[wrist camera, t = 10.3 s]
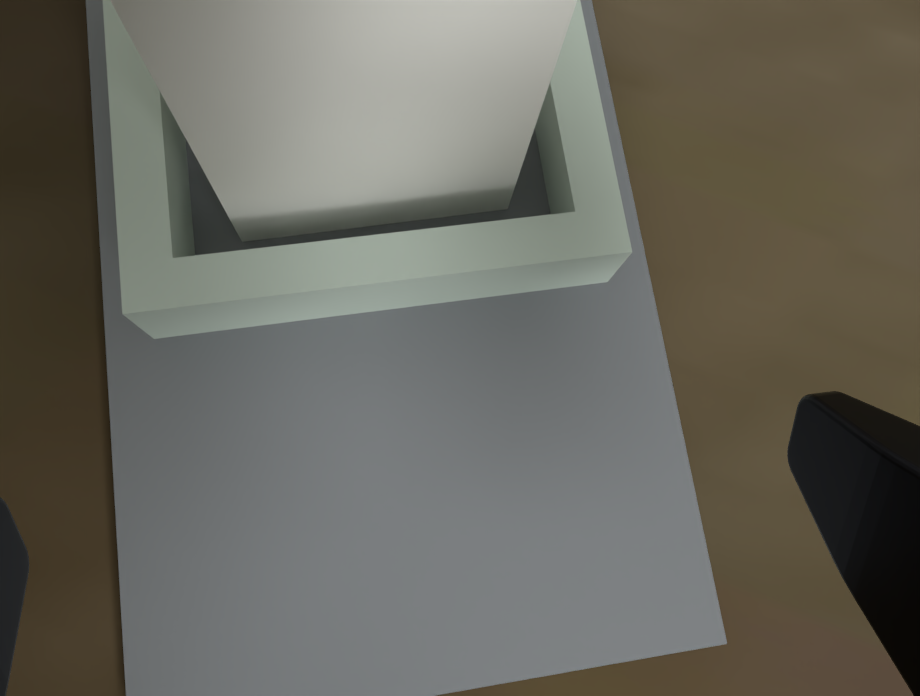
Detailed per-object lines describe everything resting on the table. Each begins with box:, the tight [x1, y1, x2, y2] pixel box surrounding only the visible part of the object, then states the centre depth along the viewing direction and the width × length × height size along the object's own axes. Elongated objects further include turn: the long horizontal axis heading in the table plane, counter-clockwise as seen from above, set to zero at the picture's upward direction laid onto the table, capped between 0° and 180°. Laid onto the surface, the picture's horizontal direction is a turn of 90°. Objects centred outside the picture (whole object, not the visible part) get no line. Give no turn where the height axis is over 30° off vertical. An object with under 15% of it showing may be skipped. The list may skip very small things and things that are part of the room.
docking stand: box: [86, 0, 727, 696], centre depth 17 cm, size 18×12×3 cm, turn 9°
